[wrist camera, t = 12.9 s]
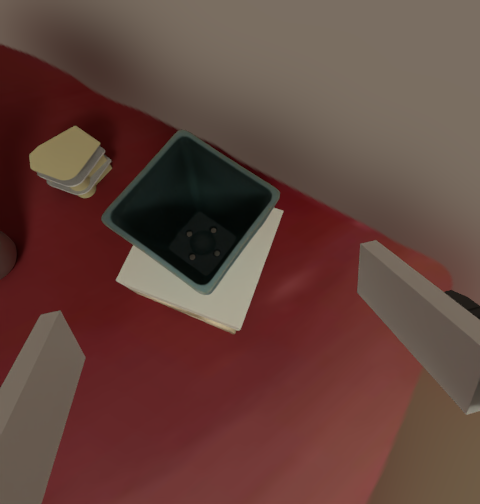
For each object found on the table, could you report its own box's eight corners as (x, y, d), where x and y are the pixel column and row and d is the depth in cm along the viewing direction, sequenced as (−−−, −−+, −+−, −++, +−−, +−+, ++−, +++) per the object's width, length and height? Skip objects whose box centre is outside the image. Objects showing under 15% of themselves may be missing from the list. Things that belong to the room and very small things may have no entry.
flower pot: (194, 183, 31) (180, 124, 22) (268, 233, 30) (284, 191, 21) (136, 253, 29) (96, 218, 20) (213, 309, 28) (205, 298, 19)
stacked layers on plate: (86, 133, 42) (66, 104, 37) (137, 169, 41) (124, 143, 36) (30, 187, 40) (1, 164, 35) (84, 227, 39) (61, 209, 34)
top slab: (130, 288, 33) (115, 280, 28) (177, 191, 36) (170, 170, 32) (238, 330, 32) (240, 328, 28) (276, 227, 35) (283, 211, 31)
